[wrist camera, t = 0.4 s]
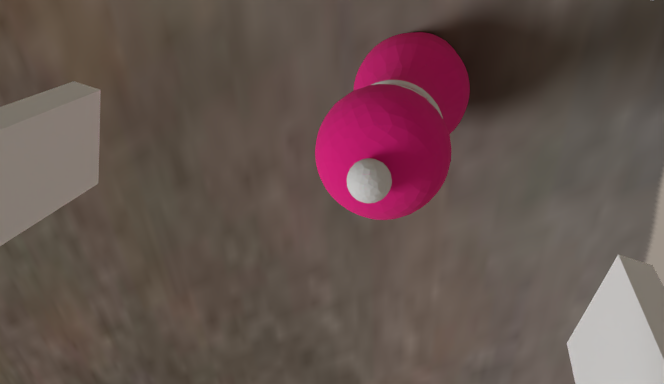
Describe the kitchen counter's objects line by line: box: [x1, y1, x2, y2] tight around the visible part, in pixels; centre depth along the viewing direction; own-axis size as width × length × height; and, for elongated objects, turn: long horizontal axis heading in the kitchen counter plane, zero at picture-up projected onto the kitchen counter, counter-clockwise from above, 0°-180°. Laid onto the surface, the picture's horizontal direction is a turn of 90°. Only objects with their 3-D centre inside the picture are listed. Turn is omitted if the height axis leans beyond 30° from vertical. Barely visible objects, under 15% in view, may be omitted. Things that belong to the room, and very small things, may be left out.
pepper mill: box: [315, 32, 470, 220], centre depth 29 cm, size 7×7×20 cm
